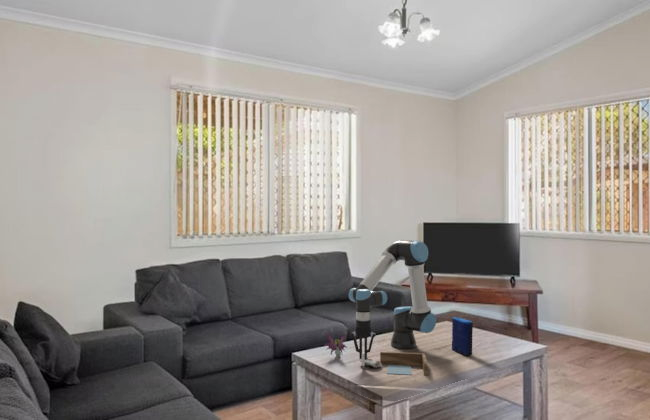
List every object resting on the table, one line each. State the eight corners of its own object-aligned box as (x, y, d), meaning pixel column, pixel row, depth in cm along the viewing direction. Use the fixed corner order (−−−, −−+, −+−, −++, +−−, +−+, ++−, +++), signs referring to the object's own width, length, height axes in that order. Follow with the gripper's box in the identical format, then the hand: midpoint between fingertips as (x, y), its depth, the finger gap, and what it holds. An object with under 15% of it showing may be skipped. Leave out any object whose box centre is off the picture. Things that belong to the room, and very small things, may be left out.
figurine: (350, 357, 271) (350, 330, 271) (347, 361, 263) (347, 333, 263) (327, 355, 275) (327, 328, 275) (323, 359, 267) (323, 332, 267)
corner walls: (380, 362, 261) (380, 351, 261) (425, 364, 257) (425, 353, 257) (379, 373, 243) (379, 361, 243) (427, 375, 240) (427, 363, 240)
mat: (387, 365, 256) (387, 364, 256) (410, 366, 255) (410, 365, 255) (387, 373, 242) (387, 373, 242) (411, 375, 241) (411, 374, 241)
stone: (355, 364, 255) (356, 357, 256) (366, 362, 262) (367, 355, 262) (373, 369, 247) (374, 362, 247) (384, 367, 253) (385, 360, 254)
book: (450, 350, 285) (450, 316, 285) (457, 349, 287) (457, 315, 287) (466, 357, 271) (465, 321, 272) (473, 356, 273) (473, 320, 274)
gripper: (350, 320, 248) (350, 367, 247) (375, 321, 246) (375, 368, 245) (351, 317, 255) (351, 362, 255) (376, 318, 253) (376, 363, 253)
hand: (363, 365), depth 250 cm, fingers closed
